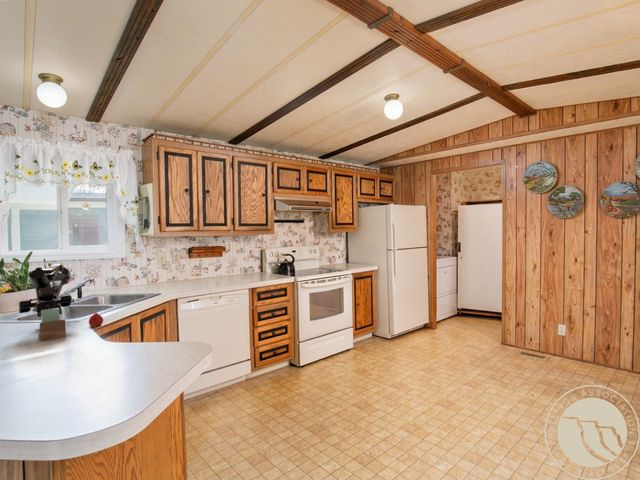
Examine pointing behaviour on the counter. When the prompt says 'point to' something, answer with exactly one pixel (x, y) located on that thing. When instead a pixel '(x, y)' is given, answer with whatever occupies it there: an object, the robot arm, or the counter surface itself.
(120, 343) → the counter surface
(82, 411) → the counter surface
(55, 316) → the green rectangular block
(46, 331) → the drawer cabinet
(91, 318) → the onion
